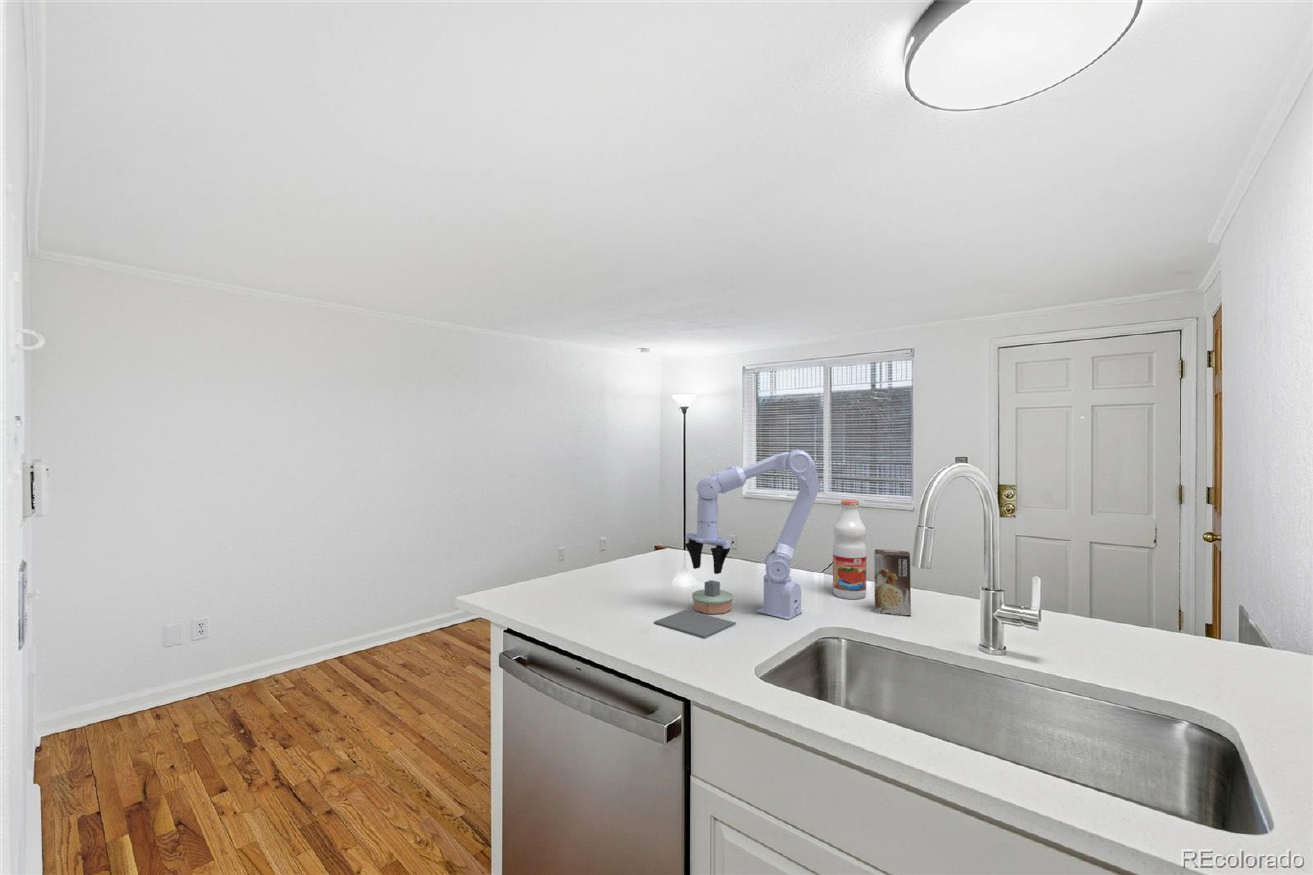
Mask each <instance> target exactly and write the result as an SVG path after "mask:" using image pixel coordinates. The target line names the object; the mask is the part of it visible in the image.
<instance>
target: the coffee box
mask: <svg viewBox="0 0 1313 875" xmlns="http://www.w3.org/2000/svg"><path fill="white" fill-rule="evenodd" d="M873 557H874V558H873V559H874V561H873V562H874V565H873V566H874V613H875V612H882V613H881V614H884V613H891V614H890V615H893V614H903V615H911V616H912V604H911V601H912V600H911V599H912V598H911V597H912V596H911V594H912V591H911V589H912V588H911V584H912V583H911V553H910V551H905V550H893V549H890V550H889V549H878V548H877V549H874V556H873ZM903 615H902V616H903Z"/></svg>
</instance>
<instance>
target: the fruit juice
mask: <svg viewBox="0 0 1313 875" xmlns="http://www.w3.org/2000/svg"><path fill="white" fill-rule="evenodd" d="M859 504H860V503H859V501H858V500H856V499H855V500H854V499H843V500H840V507H841V511H840V514H839V515H838V516H839V517H838V519H837V520H836V522H835V524H834V526H833V536H834V542H833V548H832V593H833V595H834V596H835V595H836V597H838V598H841V599H848V600H861V599H864V598H865V597H866V595H867V546H866V543H865V539H866V536H867V528H866V526H865V525H864V523H863V521H862V518H861V516H860V513H859V510H858V507H859Z"/></svg>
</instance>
